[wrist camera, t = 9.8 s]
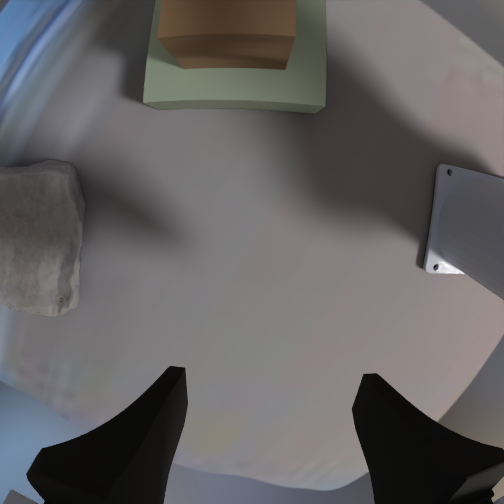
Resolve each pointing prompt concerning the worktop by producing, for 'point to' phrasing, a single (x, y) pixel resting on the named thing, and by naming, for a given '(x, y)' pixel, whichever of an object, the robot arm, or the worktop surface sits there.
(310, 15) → the base block
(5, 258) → the stone block
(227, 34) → the walnut block
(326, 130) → the worktop surface
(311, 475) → the worktop surface
